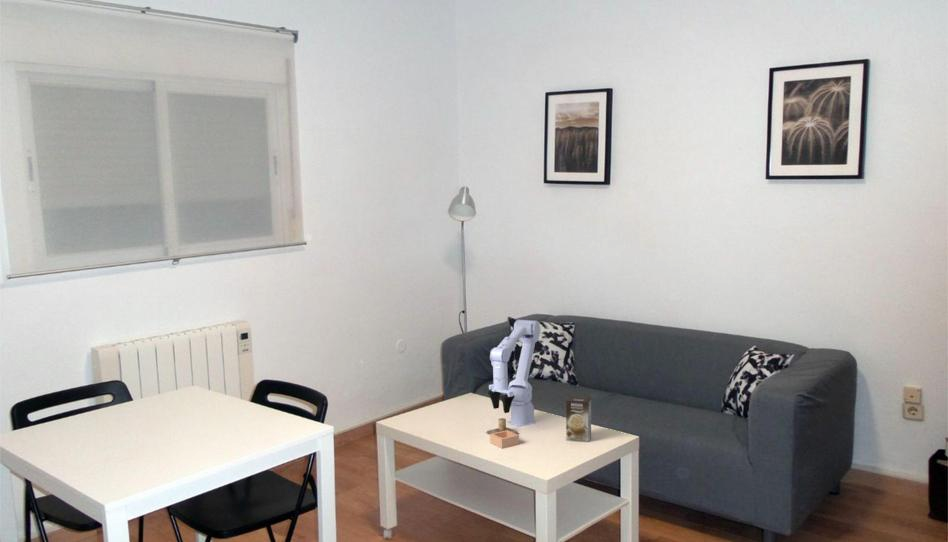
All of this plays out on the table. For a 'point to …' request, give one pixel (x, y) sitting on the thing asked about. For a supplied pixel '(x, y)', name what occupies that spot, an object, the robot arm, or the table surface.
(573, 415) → the coffee box
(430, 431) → the table surface
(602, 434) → the table surface
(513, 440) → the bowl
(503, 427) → the lid
